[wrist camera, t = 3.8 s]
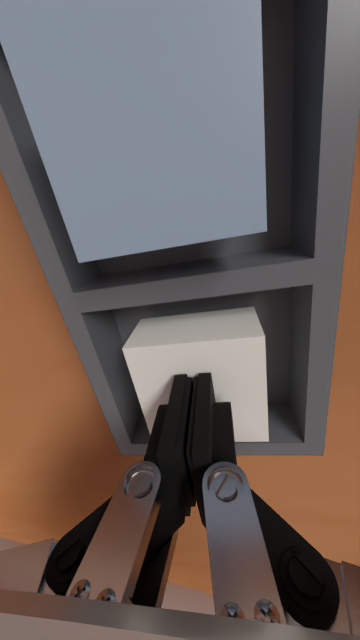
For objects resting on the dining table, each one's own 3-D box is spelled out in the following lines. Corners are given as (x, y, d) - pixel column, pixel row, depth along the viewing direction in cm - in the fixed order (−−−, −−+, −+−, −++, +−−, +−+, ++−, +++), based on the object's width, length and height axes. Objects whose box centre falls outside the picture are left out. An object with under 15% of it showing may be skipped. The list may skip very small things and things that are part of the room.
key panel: (318, -67, 8) (400, -279, 5) (299, 401, 17) (323, 455, 13) (17, 48, 10) (-85, -33, 7) (138, 407, 19) (120, 454, 15)
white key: (253, 306, 12) (265, 336, 9) (258, 397, 14) (268, 441, 12) (140, 319, 13) (121, 348, 10) (163, 401, 16) (152, 442, 13)
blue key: (241, 6, 7) (258, -116, 4) (252, 223, 9) (267, 231, 7) (61, 69, 8) (-14, 4, 6) (112, 247, 11) (78, 263, 8)
